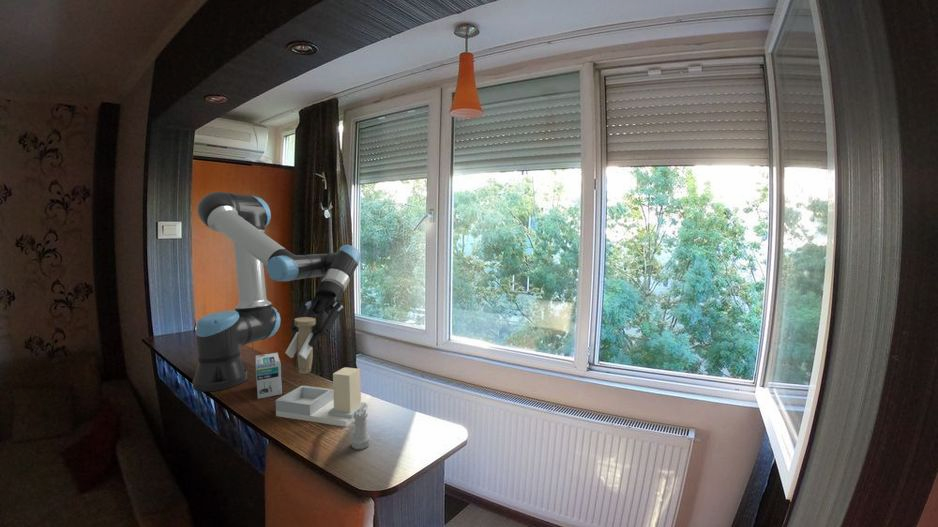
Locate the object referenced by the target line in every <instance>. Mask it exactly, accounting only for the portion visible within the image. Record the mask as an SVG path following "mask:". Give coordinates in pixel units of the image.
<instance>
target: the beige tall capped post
mask: <svg viewBox="0 0 938 527" xmlns="http://www.w3.org/2000/svg"><path fill="white" fill-rule="evenodd" d="M294 320H295V326H296V327H298V328H299V333H298V349H297V351H296V354H297V355H296V357H297V367H298V373H299V374H303V375H307V374H310V373H311V371H312V366H313V357H314V354H313V352H314V350H313V348H314V347H312V349H311V351H310V353H309V355H308V357H307V359H303V358H302V357H301V356H300V355H299V352H300V350H301V348H302V347H303V345H304V343H305V341H306V339H307V337H308V335H309V333H313V332H312V330H313V329H312V328H313V327H315V325H316V322H317V320H316V317H315V318H311V317H300V318H296V317H295V318H294Z"/></svg>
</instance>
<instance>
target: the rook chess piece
mask: <svg viewBox="0 0 938 527" xmlns="http://www.w3.org/2000/svg"><path fill="white" fill-rule="evenodd" d="M368 414H369V413H367V410H364V409H362V411H360V409H359V410H358V412H357V411H355V414H354V416H353V418H354V419H355V420H354V426H355V427H354V428H355V430H354V433H353V436H352V437H351V444H350V446H351V447H352V448H353V449H354V450H364V449H366V448H367V447H369V446H370V444H371V443H372V441H371V435H370V433H369V432H368V428H367V422H368V420H367V417H368Z"/></svg>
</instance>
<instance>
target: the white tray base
mask: <svg viewBox="0 0 938 527" xmlns="http://www.w3.org/2000/svg"><path fill="white" fill-rule="evenodd" d="M332 383H333V384H332V386H333V387H332V388H325V387H316V386H309V385H300V386H298V387H297V388H295V389H293V390H291V391H289V392H287V393H286V394H284V395H282V396H280V397H279V398H277V399H275V416H276V417H280V418H286V419H292V420H301V421H307V422H311V423H312V422H313V423H317V424H318V423H320V424H324V425H325V424H326V425H333V426H338V427H344V428H345V427H348V426H349V425H351V424H352V423H353V422H355V419H354V418H353V416H354V414H355V411H357V412H358V410H359V409H360V411H362V409H364V410H366V411H367V410H368V403H366V402H362V399H361V398H362V397H361V396H362V395H361V394H362V391H361V388H362V387H361V369H360V368H354V367H346V366H345V367H343V368H340V369H338V370H337V371H335V372H333V374H332Z"/></svg>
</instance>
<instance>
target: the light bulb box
mask: <svg viewBox="0 0 938 527" xmlns="http://www.w3.org/2000/svg"><path fill="white" fill-rule="evenodd" d="M254 357H255V379H256V380H255V381H256V392H257V399H258V400H260V399H264V398H270V397H274V396H279V395H282V394H283V392H282V391H283V388H282V385H283V384H282V366H281V359H280V357H279V352H273V353H266V354H265V353H264V354H258V355H255V356H254Z"/></svg>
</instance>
